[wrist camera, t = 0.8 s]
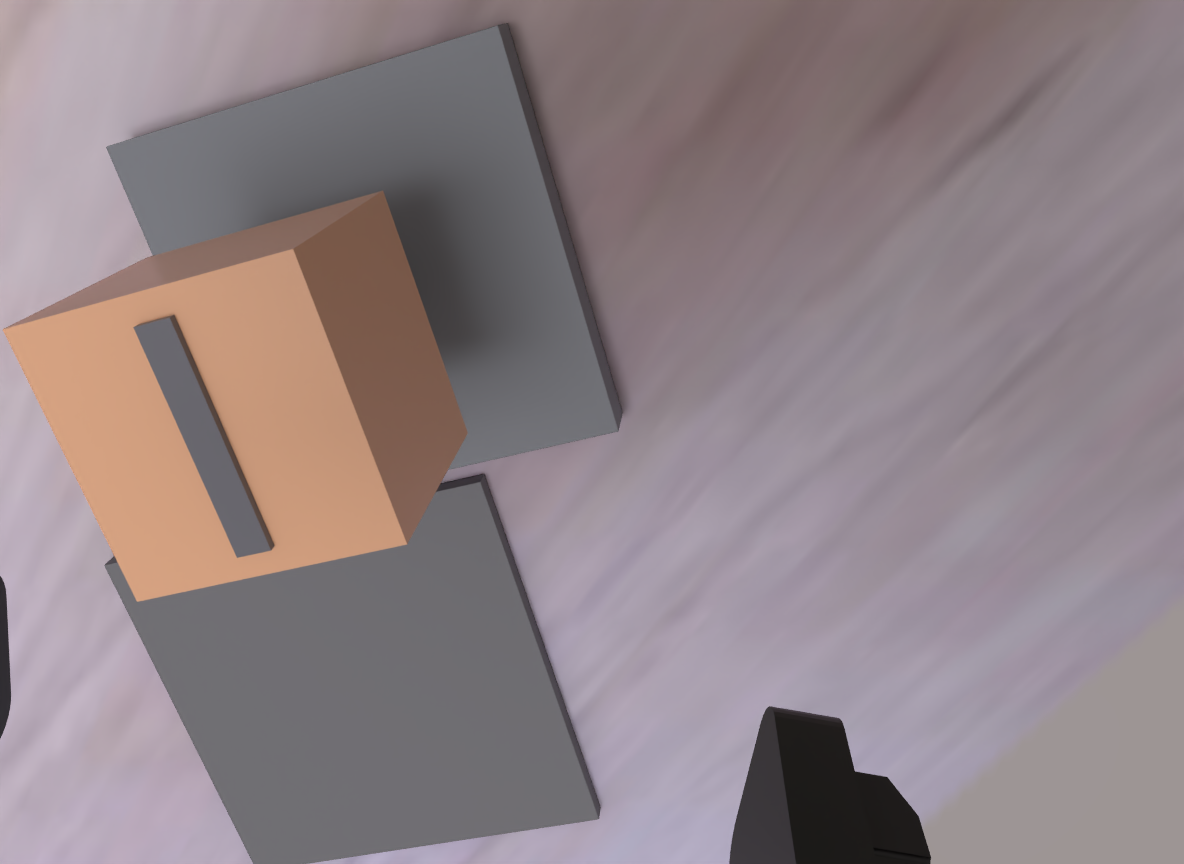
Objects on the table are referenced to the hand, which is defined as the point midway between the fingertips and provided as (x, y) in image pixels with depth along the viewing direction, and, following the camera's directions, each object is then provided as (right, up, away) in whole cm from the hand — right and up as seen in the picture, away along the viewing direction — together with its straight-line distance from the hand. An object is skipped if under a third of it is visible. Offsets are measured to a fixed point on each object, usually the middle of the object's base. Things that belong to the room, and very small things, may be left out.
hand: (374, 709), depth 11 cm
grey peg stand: (-4, +8, +22) cm, 24 cm away
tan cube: (-5, +5, +16) cm, 18 cm away
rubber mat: (-6, -6, +28) cm, 30 cm away
